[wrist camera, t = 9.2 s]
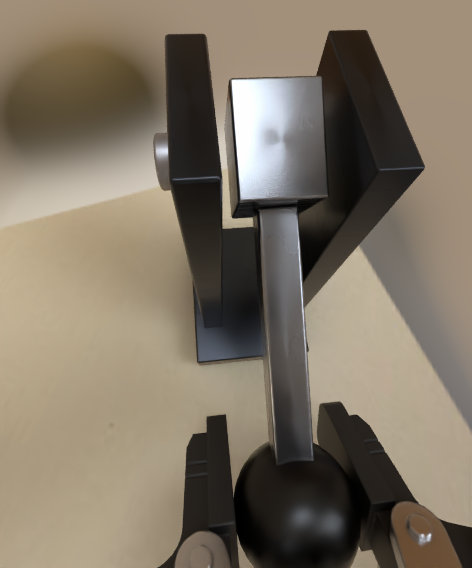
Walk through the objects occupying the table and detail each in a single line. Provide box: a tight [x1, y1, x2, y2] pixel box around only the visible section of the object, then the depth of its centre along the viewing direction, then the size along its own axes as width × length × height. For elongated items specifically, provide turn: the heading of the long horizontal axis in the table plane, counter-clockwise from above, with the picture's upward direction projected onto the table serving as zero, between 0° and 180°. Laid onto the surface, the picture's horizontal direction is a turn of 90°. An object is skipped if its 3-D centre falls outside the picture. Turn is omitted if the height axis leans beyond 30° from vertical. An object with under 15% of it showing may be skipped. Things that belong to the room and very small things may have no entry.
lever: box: [225, 76, 361, 568], centre depth 8 cm, size 13×4×4 cm, turn 6°
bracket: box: [153, 30, 425, 365], centre depth 12 cm, size 8×6×13 cm
